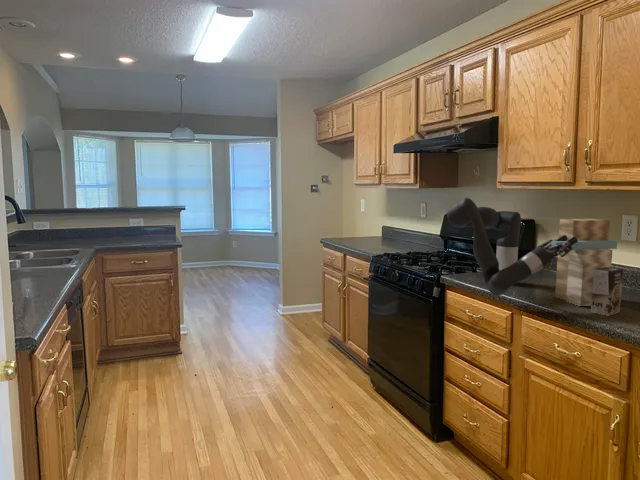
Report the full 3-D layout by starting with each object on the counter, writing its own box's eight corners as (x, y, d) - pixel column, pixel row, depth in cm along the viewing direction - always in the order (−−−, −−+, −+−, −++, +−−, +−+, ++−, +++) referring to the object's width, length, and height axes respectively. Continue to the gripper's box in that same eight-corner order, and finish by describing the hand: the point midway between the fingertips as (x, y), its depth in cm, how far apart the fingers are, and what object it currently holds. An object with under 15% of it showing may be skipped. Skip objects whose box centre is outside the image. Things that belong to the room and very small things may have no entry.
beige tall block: (580, 307, 184) (584, 250, 182) (566, 301, 192) (569, 247, 190) (608, 305, 186) (612, 249, 184) (593, 300, 194) (596, 247, 192)
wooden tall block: (568, 301, 192) (573, 220, 188) (555, 296, 200) (560, 219, 196) (604, 300, 195) (610, 220, 191) (589, 295, 203) (595, 218, 199)
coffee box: (609, 316, 172) (612, 271, 170) (590, 312, 177) (593, 268, 175) (620, 312, 177) (624, 268, 175) (602, 308, 182) (605, 266, 180)
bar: (555, 250, 182) (556, 242, 182) (550, 249, 185) (551, 241, 185) (616, 248, 187) (617, 241, 187) (610, 247, 190) (611, 240, 190)
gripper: (542, 255, 175) (580, 231, 177) (519, 250, 189) (555, 227, 191) (550, 273, 177) (588, 248, 178) (527, 266, 191) (562, 243, 192)
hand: (571, 238), depth 185 cm, fingers open, 5 cm apart
